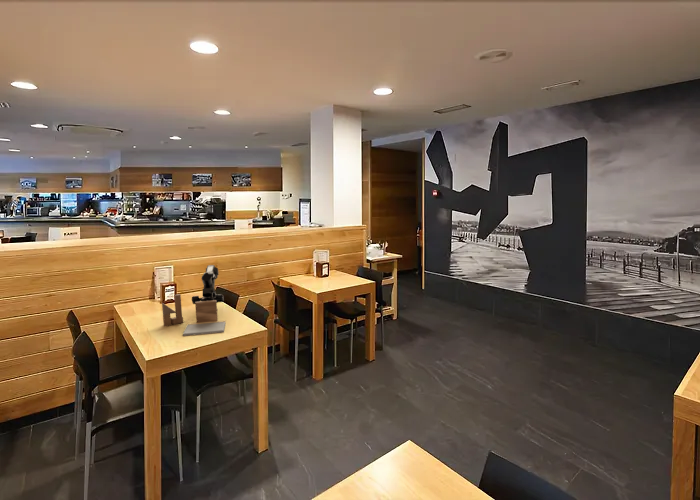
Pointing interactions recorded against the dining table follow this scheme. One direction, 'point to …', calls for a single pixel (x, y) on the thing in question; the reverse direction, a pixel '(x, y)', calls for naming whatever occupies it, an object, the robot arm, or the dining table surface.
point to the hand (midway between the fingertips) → (207, 310)
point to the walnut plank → (206, 311)
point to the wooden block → (168, 311)
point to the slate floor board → (204, 328)
